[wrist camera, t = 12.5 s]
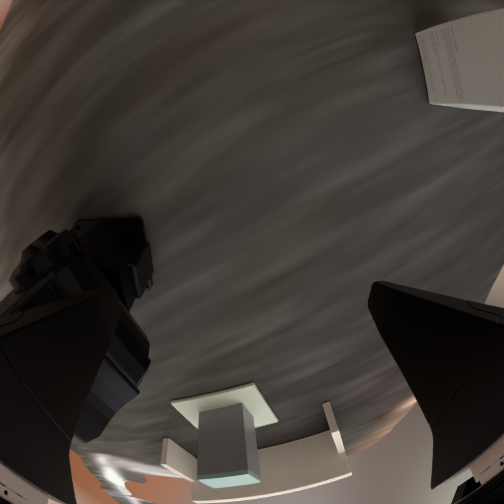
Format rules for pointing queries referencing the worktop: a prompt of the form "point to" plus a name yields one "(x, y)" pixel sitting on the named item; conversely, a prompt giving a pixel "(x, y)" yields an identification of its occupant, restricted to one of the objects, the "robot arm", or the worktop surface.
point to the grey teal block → (227, 447)
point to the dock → (271, 466)
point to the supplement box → (465, 61)
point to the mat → (228, 404)
